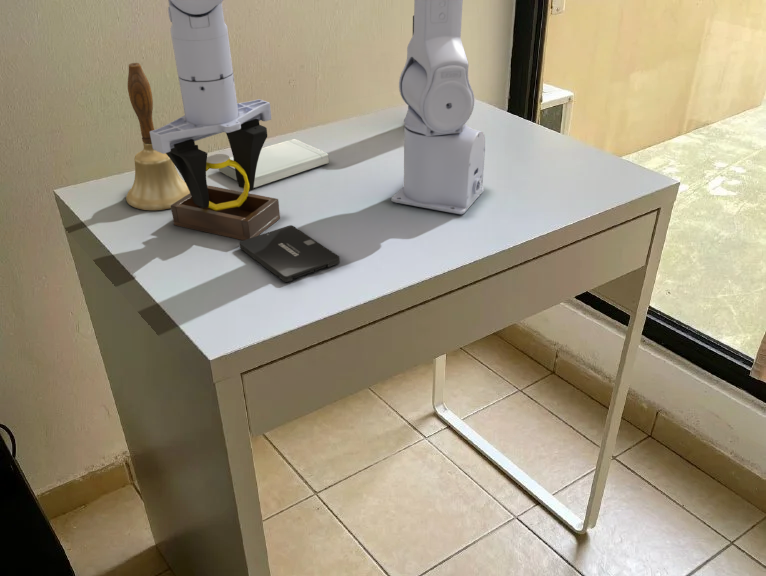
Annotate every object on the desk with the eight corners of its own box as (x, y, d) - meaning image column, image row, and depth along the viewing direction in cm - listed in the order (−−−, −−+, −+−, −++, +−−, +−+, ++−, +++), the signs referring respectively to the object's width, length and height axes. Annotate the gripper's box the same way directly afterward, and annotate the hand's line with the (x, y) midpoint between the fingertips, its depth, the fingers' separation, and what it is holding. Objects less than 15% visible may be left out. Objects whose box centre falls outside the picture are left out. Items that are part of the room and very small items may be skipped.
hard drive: (251, 177, 98) (328, 152, 104) (216, 159, 103) (292, 136, 109) (253, 190, 99) (329, 164, 105) (218, 171, 104) (293, 148, 110)
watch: (249, 199, 92) (243, 150, 88) (253, 209, 90) (247, 159, 86) (198, 206, 91) (190, 156, 87) (201, 215, 89) (192, 165, 85)
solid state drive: (292, 230, 89) (291, 224, 89) (341, 262, 83) (340, 257, 83) (238, 247, 86) (237, 242, 86) (285, 283, 80) (285, 277, 79)
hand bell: (207, 195, 97) (185, 62, 88) (151, 217, 93) (121, 78, 83) (169, 178, 102) (144, 49, 92) (113, 197, 97) (81, 64, 87)
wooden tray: (280, 218, 92) (278, 198, 91) (250, 241, 87) (247, 221, 86) (206, 203, 96) (203, 184, 94) (173, 225, 91) (170, 205, 89)
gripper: (167, 98, 75) (191, 227, 83) (283, 66, 83) (294, 187, 91) (129, 83, 79) (155, 208, 87) (243, 54, 87) (257, 171, 95)
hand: (224, 196), depth 90 cm, fingers closed on watch, 6 cm apart
